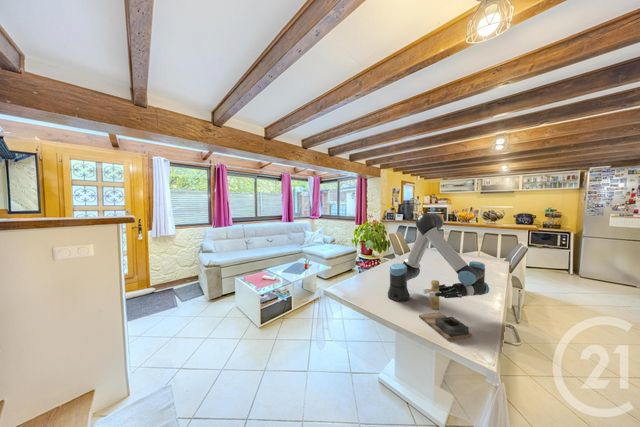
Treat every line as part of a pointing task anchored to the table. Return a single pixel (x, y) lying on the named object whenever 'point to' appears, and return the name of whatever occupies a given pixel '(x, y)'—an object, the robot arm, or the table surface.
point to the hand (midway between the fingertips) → (426, 292)
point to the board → (432, 324)
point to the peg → (434, 299)
